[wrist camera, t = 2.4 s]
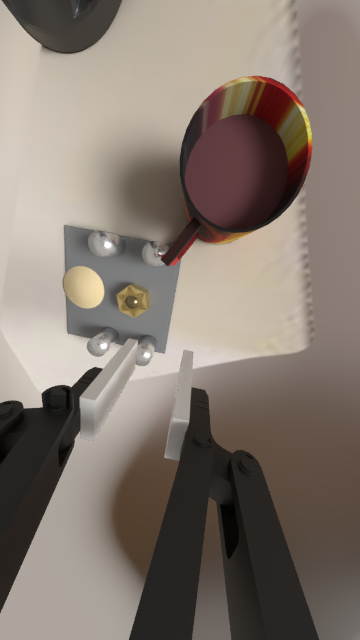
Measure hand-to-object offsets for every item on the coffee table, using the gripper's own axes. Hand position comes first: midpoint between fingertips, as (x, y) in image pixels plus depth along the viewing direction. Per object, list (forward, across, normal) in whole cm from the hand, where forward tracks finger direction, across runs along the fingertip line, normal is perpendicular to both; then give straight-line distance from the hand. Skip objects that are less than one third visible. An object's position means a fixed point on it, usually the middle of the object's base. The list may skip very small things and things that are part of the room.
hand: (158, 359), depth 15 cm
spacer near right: (+16, -4, +8) cm, 18 cm away
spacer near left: (+16, -11, +8) cm, 21 cm away
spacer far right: (+16, -4, -8) cm, 18 cm away
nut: (+16, -7, 0) cm, 18 cm away
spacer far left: (+16, -11, -8) cm, 21 cm away
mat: (+17, -10, 0) cm, 19 cm away
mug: (+17, +3, +13) cm, 21 cm away
